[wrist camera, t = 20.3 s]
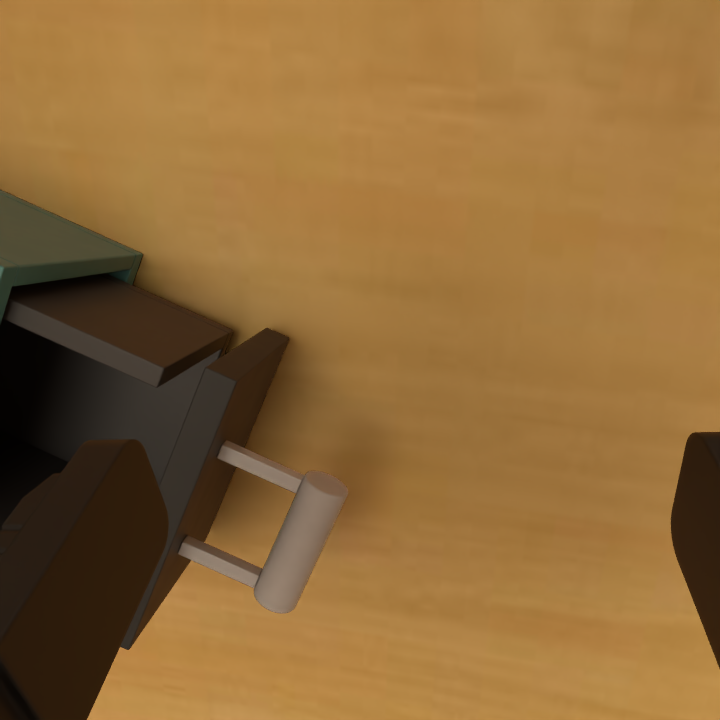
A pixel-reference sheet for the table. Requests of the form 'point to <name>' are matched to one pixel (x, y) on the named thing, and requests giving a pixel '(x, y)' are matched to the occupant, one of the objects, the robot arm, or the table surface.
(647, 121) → the table surface
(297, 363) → the table surface
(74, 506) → the robot arm
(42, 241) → the teal cabinet housing
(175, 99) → the table surface
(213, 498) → the drawer
